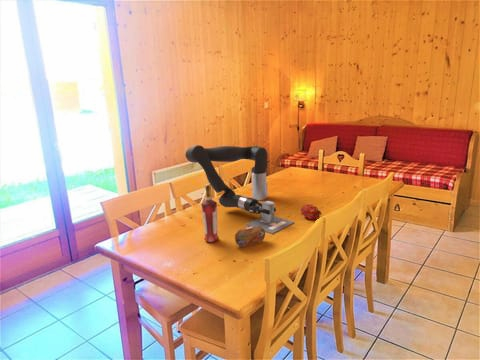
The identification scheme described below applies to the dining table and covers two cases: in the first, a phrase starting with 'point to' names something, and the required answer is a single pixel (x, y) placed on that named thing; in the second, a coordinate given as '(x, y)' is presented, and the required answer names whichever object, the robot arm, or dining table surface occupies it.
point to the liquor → (209, 216)
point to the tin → (250, 236)
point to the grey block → (270, 207)
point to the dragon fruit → (310, 211)
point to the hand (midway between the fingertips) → (272, 211)
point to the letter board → (271, 224)
